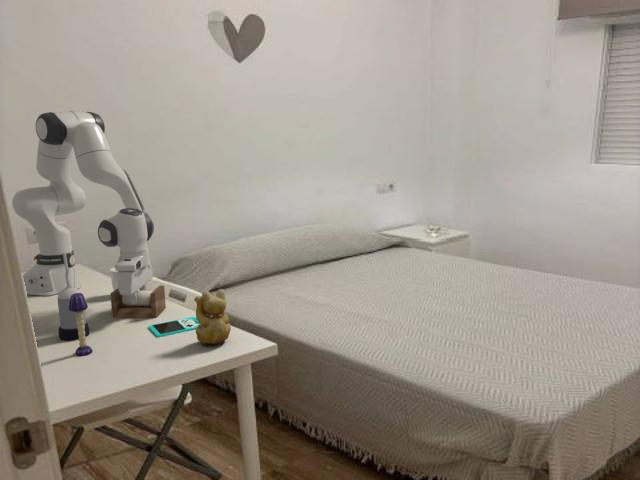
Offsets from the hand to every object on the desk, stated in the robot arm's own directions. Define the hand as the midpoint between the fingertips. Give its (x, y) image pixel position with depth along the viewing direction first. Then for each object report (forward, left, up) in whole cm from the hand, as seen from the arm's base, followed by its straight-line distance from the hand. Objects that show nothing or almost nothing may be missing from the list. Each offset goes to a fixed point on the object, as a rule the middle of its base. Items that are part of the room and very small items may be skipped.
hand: (138, 300), depth 180 cm
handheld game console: (+17, -13, -5) cm, 22 cm away
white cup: (-13, +19, -4) cm, 23 cm away
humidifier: (-12, -20, -4) cm, 24 cm away
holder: (0, 0, -4) cm, 4 cm away
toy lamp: (-3, -33, -4) cm, 33 cm away
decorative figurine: (+31, -25, -4) cm, 40 cm away
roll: (0, +1, -2) cm, 2 cm away
